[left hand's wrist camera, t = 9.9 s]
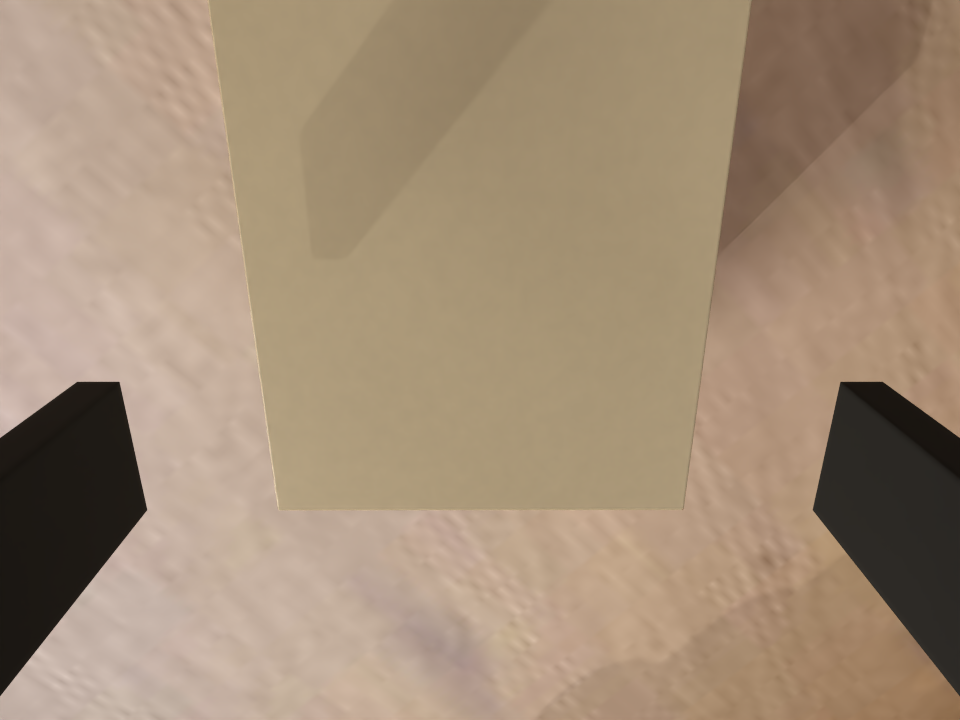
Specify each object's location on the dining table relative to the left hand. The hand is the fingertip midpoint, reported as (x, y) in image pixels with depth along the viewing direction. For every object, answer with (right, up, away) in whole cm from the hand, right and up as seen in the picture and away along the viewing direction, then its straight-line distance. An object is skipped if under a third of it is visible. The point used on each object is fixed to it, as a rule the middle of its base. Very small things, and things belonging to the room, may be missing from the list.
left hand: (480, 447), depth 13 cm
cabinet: (0, +11, +10) cm, 15 cm away
